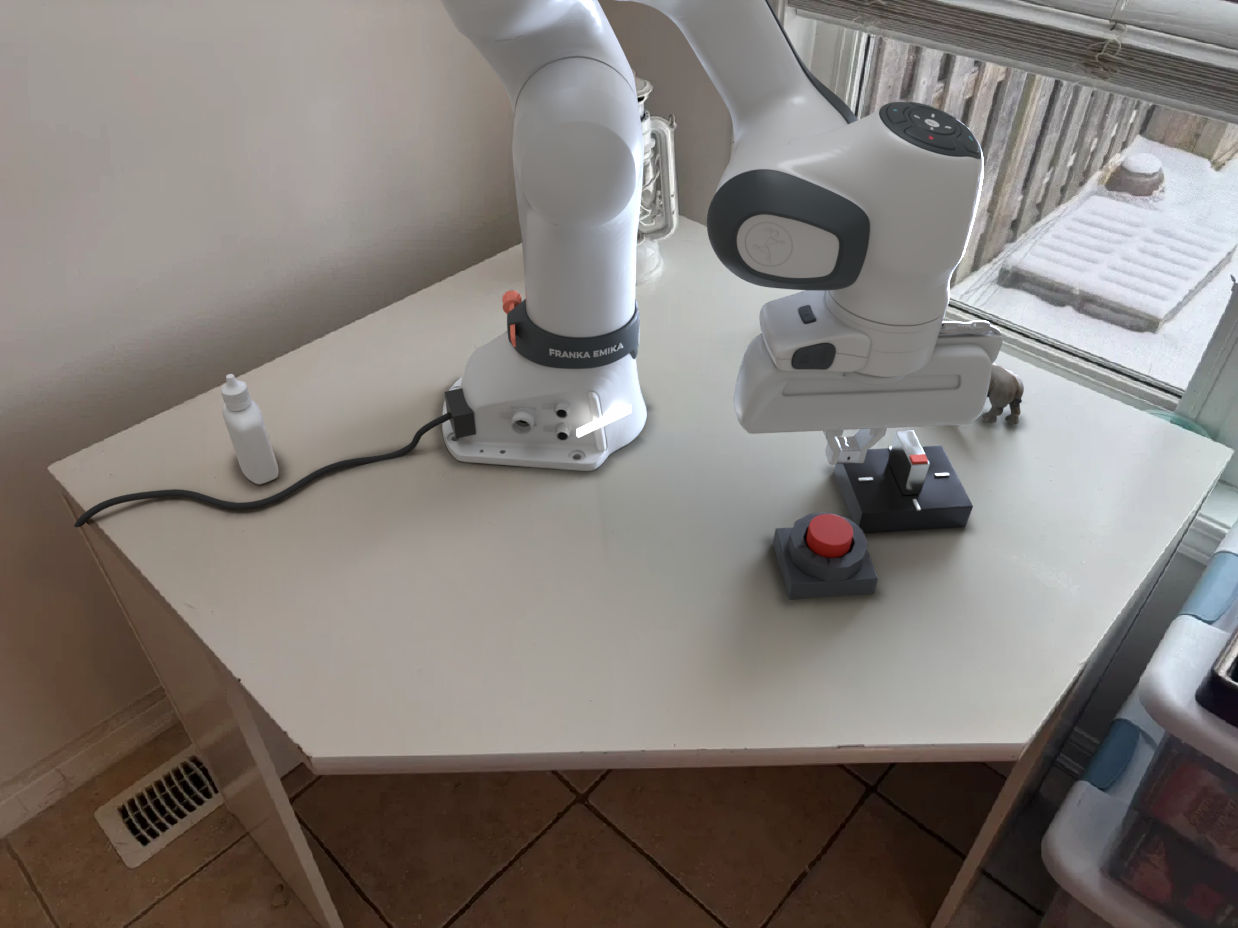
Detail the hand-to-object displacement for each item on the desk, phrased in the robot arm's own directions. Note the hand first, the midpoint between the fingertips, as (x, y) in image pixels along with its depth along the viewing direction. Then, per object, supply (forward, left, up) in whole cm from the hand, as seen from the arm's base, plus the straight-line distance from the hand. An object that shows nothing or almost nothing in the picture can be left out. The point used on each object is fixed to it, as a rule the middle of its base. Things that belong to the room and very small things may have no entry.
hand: (843, 459), depth 83 cm
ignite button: (0, -1, -10) cm, 10 cm away
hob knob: (+10, +8, -10) cm, 16 cm away
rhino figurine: (+23, +24, -14) cm, 36 cm away
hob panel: (+10, +8, -13) cm, 18 cm away
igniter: (0, -1, -13) cm, 13 cm away
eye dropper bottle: (-55, +18, -14) cm, 59 cm away
